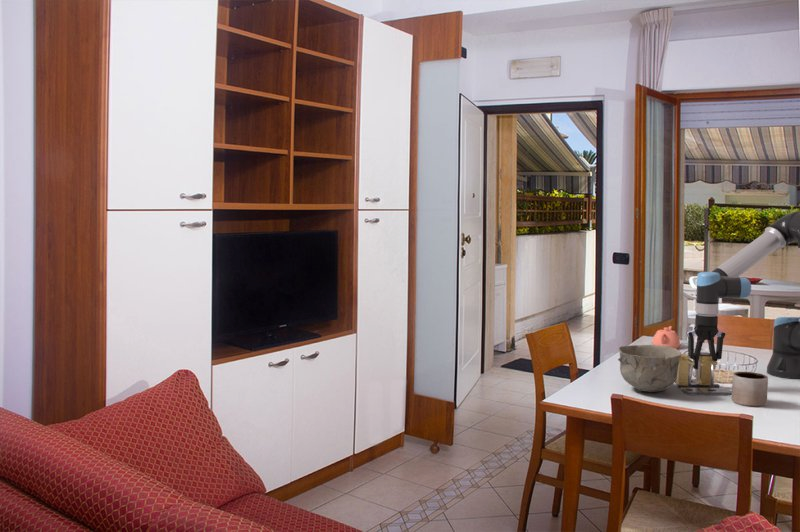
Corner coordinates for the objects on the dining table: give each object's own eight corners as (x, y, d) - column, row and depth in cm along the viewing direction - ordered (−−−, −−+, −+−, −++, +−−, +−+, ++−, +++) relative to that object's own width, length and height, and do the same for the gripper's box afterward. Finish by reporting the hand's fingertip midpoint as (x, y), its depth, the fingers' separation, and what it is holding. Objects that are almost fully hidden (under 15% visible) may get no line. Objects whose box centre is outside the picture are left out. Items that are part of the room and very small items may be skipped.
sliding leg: (705, 381, 265) (707, 352, 264) (719, 390, 253) (721, 359, 252) (695, 381, 265) (696, 352, 264) (708, 390, 253) (710, 359, 252)
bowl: (649, 402, 243) (651, 358, 241) (603, 387, 262) (604, 346, 261) (694, 394, 253) (696, 352, 252) (647, 380, 272) (648, 341, 271)
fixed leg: (683, 382, 266) (684, 353, 265) (696, 390, 254) (697, 360, 253) (674, 382, 266) (675, 353, 265) (686, 390, 254) (687, 360, 253)
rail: (717, 386, 264) (717, 383, 264) (719, 388, 262) (719, 385, 262) (676, 386, 264) (676, 383, 264) (678, 387, 262) (678, 384, 262)
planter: (724, 398, 248) (726, 371, 247) (754, 398, 249) (756, 371, 248) (742, 407, 237) (743, 379, 236) (773, 407, 238) (775, 378, 237)
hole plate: (726, 390, 258) (726, 387, 258) (733, 395, 252) (733, 392, 252) (681, 390, 259) (681, 387, 259) (688, 394, 253) (688, 391, 253)
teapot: (648, 349, 332) (648, 328, 331) (657, 342, 347) (658, 323, 346) (675, 352, 326) (676, 331, 325) (683, 345, 341) (684, 325, 340)
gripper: (725, 313, 264) (722, 375, 266) (679, 312, 264) (676, 375, 267) (734, 316, 257) (731, 380, 259) (687, 315, 257) (684, 380, 259)
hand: (703, 377), depth 263 cm, fingers open, 4 cm apart
